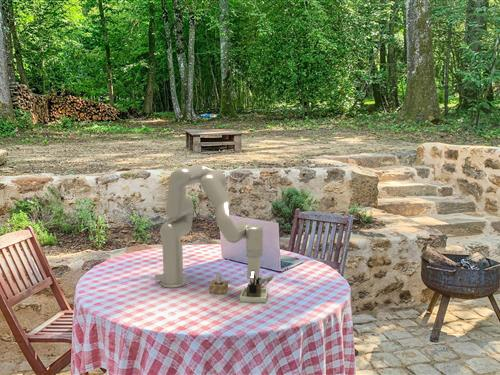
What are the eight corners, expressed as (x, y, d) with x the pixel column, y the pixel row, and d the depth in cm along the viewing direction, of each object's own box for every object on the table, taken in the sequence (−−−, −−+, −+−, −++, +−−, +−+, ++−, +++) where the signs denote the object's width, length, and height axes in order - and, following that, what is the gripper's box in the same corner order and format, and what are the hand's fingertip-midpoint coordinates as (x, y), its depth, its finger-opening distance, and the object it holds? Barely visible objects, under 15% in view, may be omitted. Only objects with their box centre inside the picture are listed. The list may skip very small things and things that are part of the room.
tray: (239, 302, 220) (239, 296, 220) (243, 292, 232) (243, 287, 231) (265, 303, 219) (265, 298, 219) (268, 293, 230) (268, 288, 230)
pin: (215, 292, 232) (215, 275, 231) (216, 290, 235) (216, 273, 234) (221, 292, 232) (220, 275, 231) (221, 290, 235) (221, 274, 233)
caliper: (260, 291, 234) (260, 278, 233) (257, 290, 235) (257, 278, 234) (273, 277, 253) (274, 265, 252) (271, 277, 254) (272, 265, 252)
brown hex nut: (209, 293, 230) (209, 285, 230) (212, 288, 238) (212, 280, 237) (225, 294, 229) (225, 286, 229) (228, 288, 237) (227, 280, 236)
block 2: (246, 298, 223) (246, 288, 222) (248, 293, 229) (248, 283, 228) (259, 299, 222) (259, 288, 221) (261, 294, 228) (261, 284, 227)
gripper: (248, 246, 231) (248, 281, 234) (243, 258, 214) (243, 295, 217) (264, 247, 230) (264, 282, 233) (260, 258, 213) (260, 296, 216)
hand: (254, 288), depth 225 cm, fingers open, 9 cm apart
